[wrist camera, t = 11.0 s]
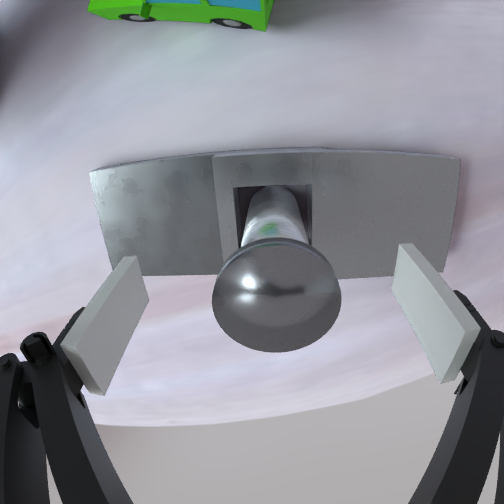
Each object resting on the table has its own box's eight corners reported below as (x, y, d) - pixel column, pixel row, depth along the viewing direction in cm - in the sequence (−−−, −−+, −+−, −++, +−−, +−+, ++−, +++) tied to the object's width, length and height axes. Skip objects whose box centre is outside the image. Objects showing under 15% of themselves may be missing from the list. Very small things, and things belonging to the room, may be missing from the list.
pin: (235, 178, 24) (202, 251, 12) (307, 174, 23) (346, 244, 11) (242, 242, 26) (221, 353, 14) (308, 239, 26) (335, 349, 14)
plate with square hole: (97, 168, 23) (80, 176, 21) (442, 153, 21) (460, 159, 18) (120, 268, 28) (108, 284, 25) (429, 256, 26) (442, 272, 23)
